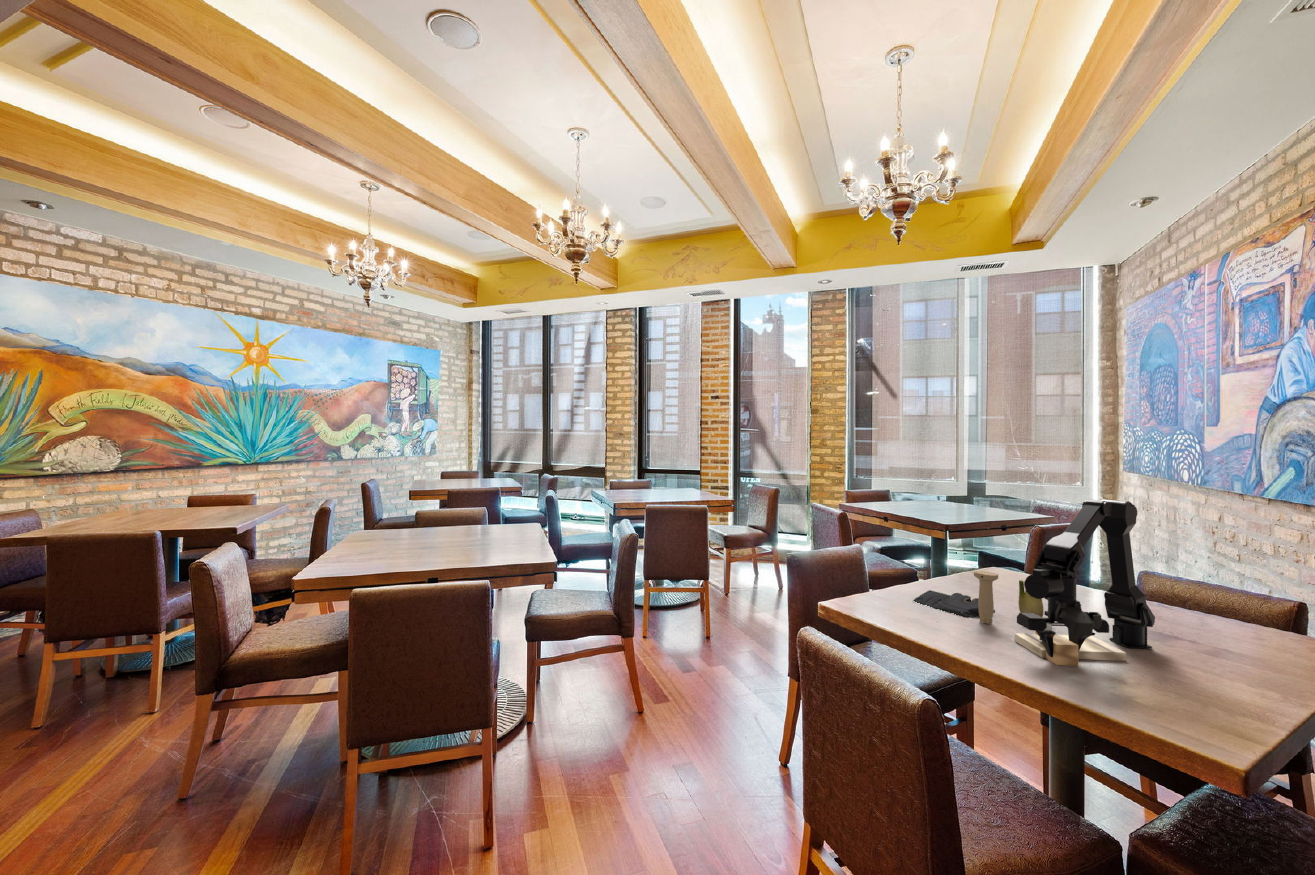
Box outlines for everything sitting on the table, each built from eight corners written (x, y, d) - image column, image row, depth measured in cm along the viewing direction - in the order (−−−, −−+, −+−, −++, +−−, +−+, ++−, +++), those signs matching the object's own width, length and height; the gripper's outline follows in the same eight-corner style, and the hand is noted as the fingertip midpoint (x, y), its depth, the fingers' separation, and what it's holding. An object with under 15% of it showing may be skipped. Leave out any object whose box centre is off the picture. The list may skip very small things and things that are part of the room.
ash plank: (1091, 643, 148) (1091, 635, 148) (1125, 660, 136) (1125, 652, 136) (1014, 640, 150) (1014, 633, 150) (1041, 657, 138) (1041, 649, 138)
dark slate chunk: (936, 596, 194) (936, 583, 194) (1000, 614, 175) (1000, 599, 175) (908, 602, 187) (908, 589, 187) (971, 621, 167) (971, 605, 167)
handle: (993, 627, 160) (993, 576, 161) (970, 621, 166) (970, 572, 166) (1001, 624, 163) (1001, 574, 163) (978, 618, 168) (978, 570, 169)
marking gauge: (1049, 649, 144) (1049, 630, 144) (1078, 665, 133) (1078, 645, 133) (1029, 648, 144) (1029, 629, 144) (1056, 665, 133) (1056, 644, 133)
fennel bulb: (1016, 617, 170) (1016, 579, 170) (1026, 615, 172) (1025, 577, 172) (1037, 623, 165) (1036, 583, 165) (1046, 620, 167) (1046, 581, 167)
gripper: (1042, 602, 128) (1042, 669, 128) (1127, 604, 126) (1127, 672, 126) (1015, 589, 139) (1015, 651, 139) (1092, 591, 137) (1092, 653, 137)
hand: (1062, 657), depth 135 cm, fingers closed on marking gauge, 5 cm apart
